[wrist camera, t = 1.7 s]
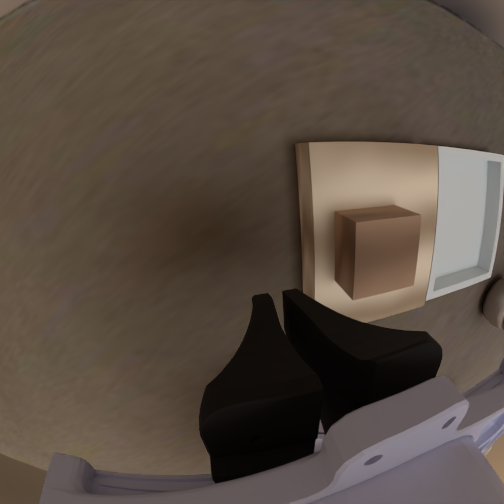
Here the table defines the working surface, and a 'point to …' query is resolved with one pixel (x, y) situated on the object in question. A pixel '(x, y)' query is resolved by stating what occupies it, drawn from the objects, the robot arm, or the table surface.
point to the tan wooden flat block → (356, 197)
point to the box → (465, 219)
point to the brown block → (376, 250)
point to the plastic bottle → (495, 305)
